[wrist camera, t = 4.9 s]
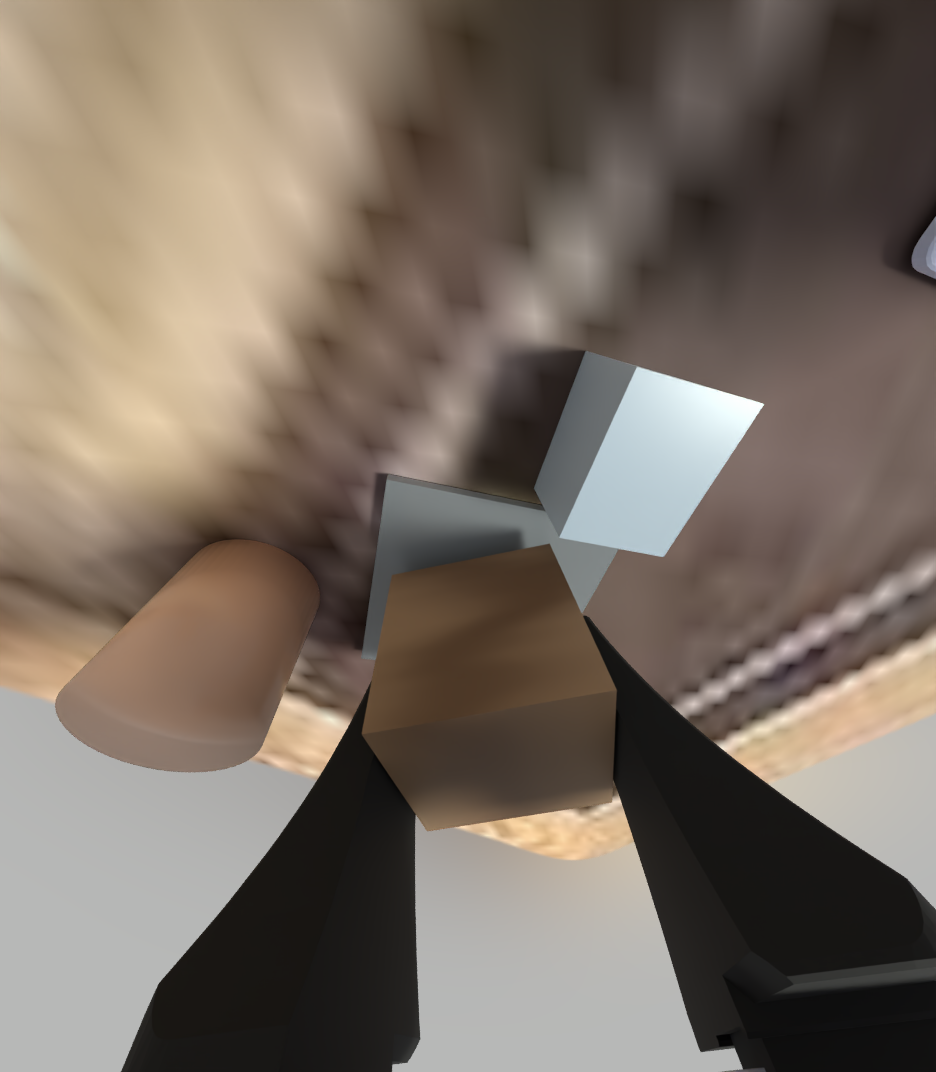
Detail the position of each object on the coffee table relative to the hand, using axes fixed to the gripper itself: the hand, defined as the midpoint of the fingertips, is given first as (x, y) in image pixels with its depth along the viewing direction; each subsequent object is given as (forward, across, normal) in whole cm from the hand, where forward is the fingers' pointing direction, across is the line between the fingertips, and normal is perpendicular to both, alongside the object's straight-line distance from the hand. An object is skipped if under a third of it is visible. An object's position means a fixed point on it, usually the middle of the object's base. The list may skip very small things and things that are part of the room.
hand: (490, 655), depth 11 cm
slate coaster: (+3, 0, 0) cm, 3 cm away
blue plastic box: (+3, -5, -5) cm, 7 cm away
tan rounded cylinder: (+3, +8, -2) cm, 9 cm away
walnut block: (+2, 0, 0) cm, 2 cm away
